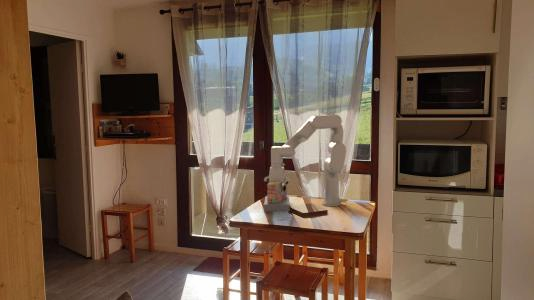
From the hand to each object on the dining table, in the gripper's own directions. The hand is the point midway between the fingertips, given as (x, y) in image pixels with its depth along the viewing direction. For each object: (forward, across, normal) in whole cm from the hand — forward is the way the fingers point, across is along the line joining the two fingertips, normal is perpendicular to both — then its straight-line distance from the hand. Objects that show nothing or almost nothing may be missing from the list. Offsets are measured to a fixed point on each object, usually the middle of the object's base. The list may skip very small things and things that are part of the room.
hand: (277, 191), depth 279 cm
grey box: (+11, 0, 0) cm, 11 cm away
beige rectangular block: (+6, 0, -1) cm, 6 cm away
